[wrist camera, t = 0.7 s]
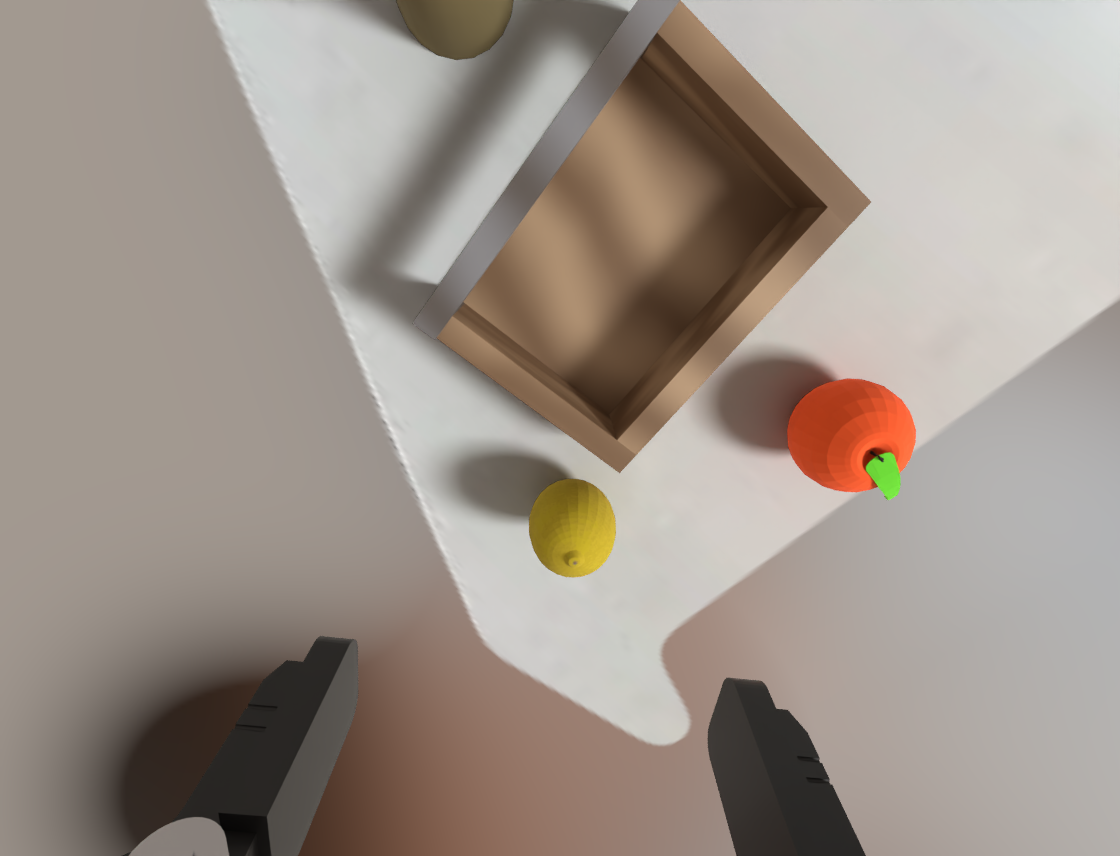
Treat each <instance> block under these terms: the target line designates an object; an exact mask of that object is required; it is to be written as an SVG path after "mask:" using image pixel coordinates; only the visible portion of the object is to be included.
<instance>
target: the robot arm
mask: <svg viewBox="0 0 1120 856" xmlns="http://www.w3.org/2000/svg"><path fill="white" fill-rule="evenodd" d="M357 698H358V647H357V641H356V640H354V639H344V638H334V637H324V636H320V637H318V638H317V639H316V641H315V642H314V644H313V646H312V647H311V649H310V651H309V653H308V654H307V656H306V658H305V660H304V662H298V661H288V660H287V661H285V662H284V663H283V664H282V665H281V666H280V667H278V668H277V669H276V670H275V671H274V672H272V673H271V674H270V675H269V676H268V677H266V678H265V679H264V680H263V682H262V683H261V685H260V686H259V688H258V690H257V691H256V693H255V694H254V696H253V698H252V699H251V701H250V703H249V704H248V708H247V709H245V711H244V712H243V714H242V715H241V717H240V718H239V720H238V721H237V723H236V727H235V729H233V730H232V731H231V733H230V734H229V736H228V738H227V739H226V741H225V742H224V744H223V745H222V747H221V749H220V750H219V752H218V753H217V755H216V756H215V758H214V760H213V761H212V763H211V764H210V766H209V768H208V769H207V771H206V773H205V774H204V776H203V777H202V779H201V781H200V782H199V784H198V785H197V787H196V788H195V790H194V792H193V793H192V795H191V796H190V798H189V800H188V801H187V803H186V805H185V806H184V807H183V809H182V810H181V812H180V813H179V814H178V816H177V817H176V818H175V819H174V820H173V821H172V822H171V823H170V824H168V825H166V826H164V827H162V828H160V829H158V830H157V831H155V832H154V833H152V834H151V835H150V836H149V837H147V838H146V839H145V840H143V841H142V842H141V843H140V844H139V845H138V846H137V847H136V848H135V849H134V850H133V851H132V852H130V853H127V854H125V855H123V856H298V854H299V852H300V849H301V847H302V844H303V842H304V839H305V837H306V834H307V832H308V829H309V827H310V824H311V822H312V819H313V817H314V815H315V812H316V810H317V807H318V805H319V802H320V800H321V797H322V795H323V792H324V790H325V787H326V785H327V782H328V780H329V777H330V775H331V772H332V770H333V768H334V765H335V763H336V760H337V758H338V755H339V753H340V750H341V748H342V745H343V743H344V740H345V738H346V735H347V733H348V730H349V728H350V725H351V723H352V720H353V717H354V713H355V709H356V705H357ZM708 750H709V756H710V761H711V764H712V768H713V772H714V775H715V779H716V783H717V786H718V790H719V793H720V797H721V801H722V804H723V808H724V812H725V815H726V819H727V823H728V826H729V830H730V834H731V837H732V841H733V844H734V848H735V852H736V855H737V856H866V855H865V853H864V851H863V849H862V847H861V845H860V843H859V840H858V838H857V836H856V834H855V832H854V830H853V828H852V826H851V823H850V822H849V819H848V817H847V815H846V813H845V811H844V809H843V807H842V804H841V802H840V800H839V798H838V796H837V794H836V792H835V790H834V788H833V786H832V785H830V783H829V777H828V775H827V773H826V771H825V769H824V767H823V764H822V763H820V762H819V756H818V754H817V752H816V750H815V748H814V745H813V743H812V741H811V739H810V737H809V735H808V733H807V732H806V731H805V729H804V728H803V727H802V726H801V725H800V724H799V722H798V721H797V720H796V719H795V718H794V717H793V716H792V715H791V713H790V712H789V711H788V710H783V709H776V707H775V705H774V703H773V700H772V698H771V696H770V693H769V691H768V689H767V687H766V685H765V684H764V683H763V682H762V681H756V680H747V679H736V678H726V679H725V680H724V682H723V685H722V688H721V691H720V694H719V697H718V700H717V703H716V706H715V709H714V712H713V715H712V718H711V722H710V725H709V729H708Z"/></svg>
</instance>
